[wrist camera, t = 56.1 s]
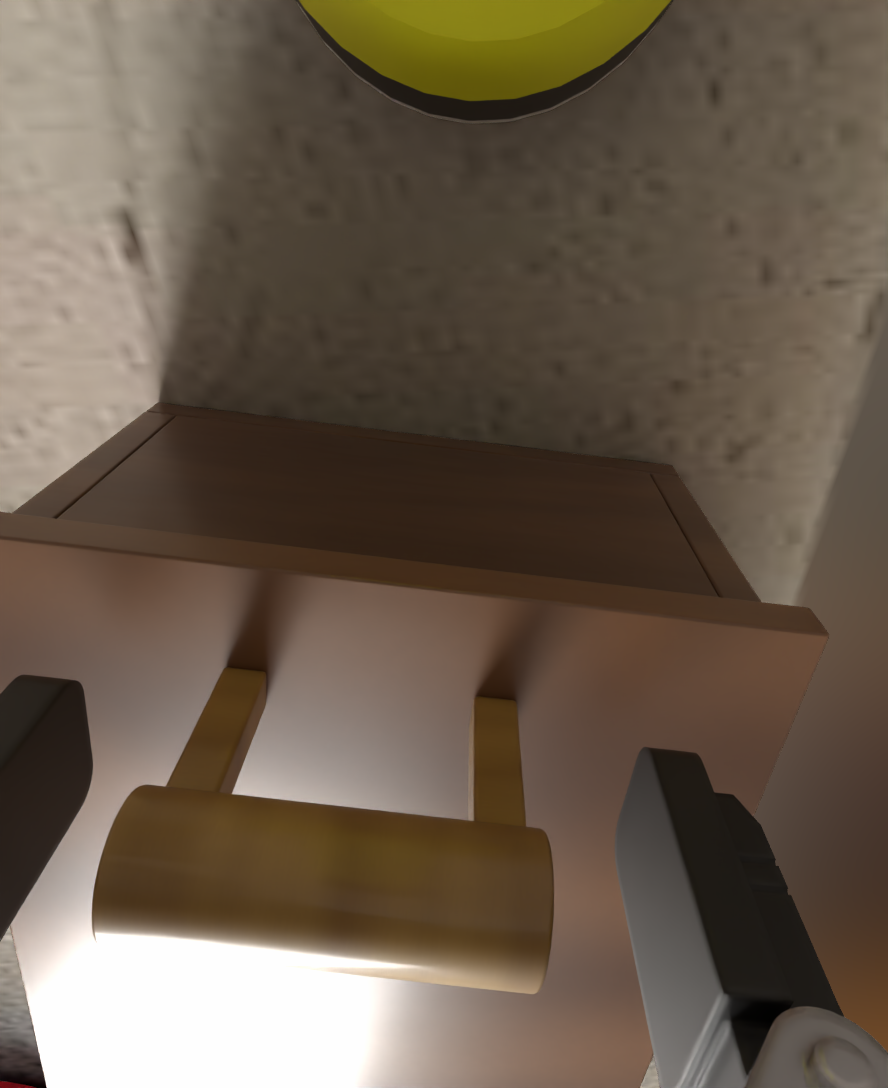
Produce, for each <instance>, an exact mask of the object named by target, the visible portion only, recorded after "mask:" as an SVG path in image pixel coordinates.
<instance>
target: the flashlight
mask: <svg viewBox="0 0 888 1088" xmlns="http://www.w3.org/2000/svg"><path fill="white" fill-rule="evenodd" d="M296 2H297V4H298V5H299V7H300V8H301V10H302V11H303V13H304V14H305V16H306V17H307V19H308V20H309V21H310V23H311V24H312V26H313V27H314V29H315V30H316V32H317V33H318V35H319V36H320V38H321V39H322V41H323V42H324V44H325V45H326V46H327V47H328V48H329V49H330V50H331V51H332V52H333V53H334V54H335V55H336V56H337V57H338V58H339V59H340V60H341V61H342V62H343V63H344V64H345V65H346V66H347V67H348V68H349V69H350V70H351V72H352V73H353V74H354V75H355V76H356V77H358V78H359V79H361V80H362V81H364V82H365V83H367V84H368V85H369V86H371V87H372V88H374V89H375V90H377V91H378V92H380V93H381V94H382V95H384V96H385V97H387V98H388V99H390V100H391V101H393V102H395V103H398V104H400V105H403V106H405V107H407V108H410V109H412V110H415V111H417V112H419V113H422V114H424V115H427V116H429V117H433V118H439V119H445V120H450V121H456V122H462V123H467V124H478V123H498V122H511V121H515V120H519V119H522V118H526V117H529V116H533V115H537V114H540V113H544V112H548V111H550V110H552V109H554V108H556V107H558V106H560V105H562V104H564V103H566V102H568V101H570V100H572V99H574V98H576V97H577V96H579V95H581V94H583V93H585V92H587V91H589V90H590V89H591V88H592V87H594V86H595V85H596V84H597V83H599V82H600V81H601V80H602V79H604V78H605V77H606V76H607V75H609V74H610V73H611V72H613V71H614V70H615V69H616V68H618V67H619V66H620V65H621V64H623V63H624V62H625V61H626V59H627V58H628V57H629V56H630V55H631V54H632V53H633V51H634V50H635V49H636V48H637V47H638V46H639V45H640V43H641V42H642V41H643V40H644V39H645V38H646V37H647V35H648V34H649V33H650V32H651V31H652V30H653V29H654V27H655V26H656V25H657V23H658V22H659V20H660V19H661V17H662V16H663V15H664V13H665V12H666V10H667V9H668V7H669V6H670V5H671V3H672V2H673V0H296Z"/></svg>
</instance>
